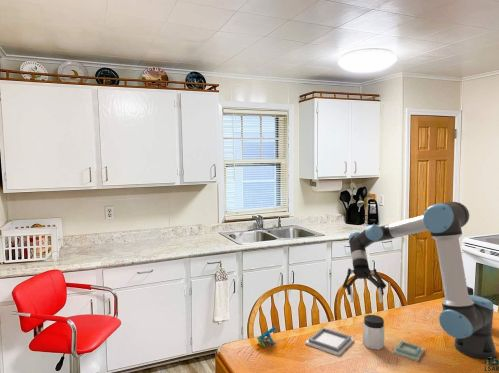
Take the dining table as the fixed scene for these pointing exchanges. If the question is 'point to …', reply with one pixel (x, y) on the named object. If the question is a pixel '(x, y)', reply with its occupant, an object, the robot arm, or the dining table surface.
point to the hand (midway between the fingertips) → (367, 301)
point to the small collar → (408, 350)
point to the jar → (373, 332)
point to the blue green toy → (267, 336)
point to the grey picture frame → (330, 341)
